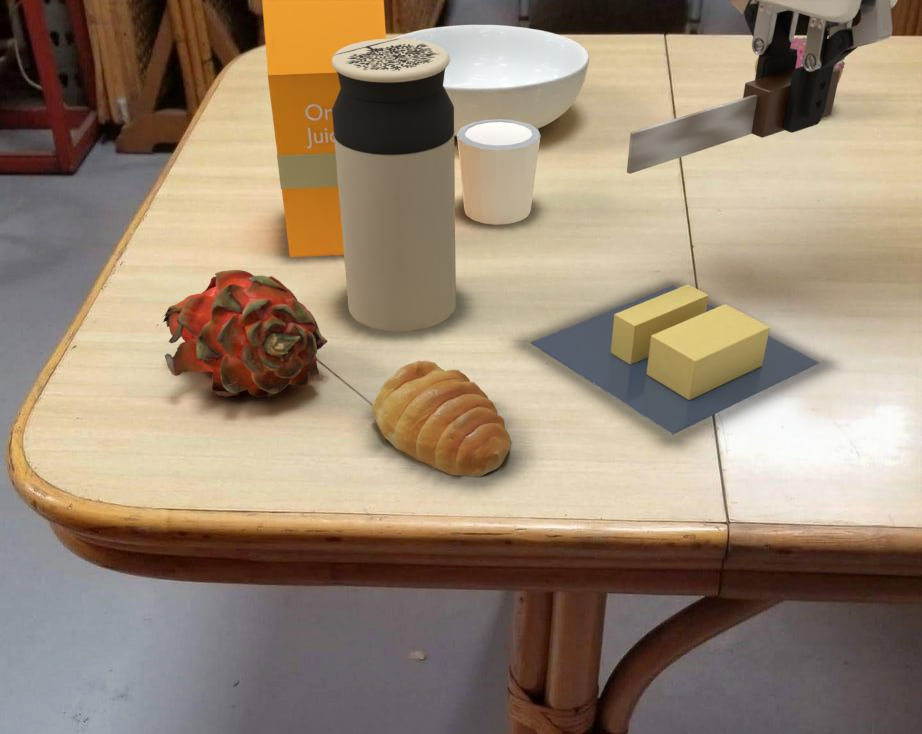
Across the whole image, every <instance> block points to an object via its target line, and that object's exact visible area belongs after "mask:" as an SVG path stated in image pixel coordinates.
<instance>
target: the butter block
mask: <svg viewBox="0 0 922 734" xmlns="http://www.w3.org/2000/svg"><path fill="white" fill-rule="evenodd" d="M770 330H771V328H770V326H769V325H767V324H765V323H763V322H761V321H759V320H757V319H755V318H753V317H751V316H749V315H747V314H746V313H743V312H741V311H740V310H738V309H736V308H734V307H732V306H730V305H728V304H726V303H723V304H722V305H720V306H717V307H715V309H712V310H710V311H708V312H705V313H703V314H700V315H698V316H696V317H693V318H691V319H689V320H686V321H684V322H682V323H679V324H677V325H675V326H672V327H670V328H668V329H665V330H663V331H661V332H658V333H656V334H654V335H652V336H651V342H650V350H649V358H648V366H647V375H648V376H650V377H652V378H653V379H655V380H657V381H658V382H660V383H662V384H663V385H665V386H666V387H668V388H670V389H671V390H673V391H675V392H676V393H678V394H680V395H681V396H683V397H684V398H686V399H688V400H691V399H693V398H695V397H697V396H700V395H702V394H704V393H706V392H708V391H710V390H712V389H714V388H716V387H719V386H721V385H723V384H725V383H727V382H729V381H731V380H733V379H735V378H737V377H740V376H742V375H744V374H746V373H748V372H750V371H752V370H754V369H756V368H759V367H761V366H762V363H763V358H764V354H765V349H766V344H767V339H768V336H769V333H770Z"/></svg>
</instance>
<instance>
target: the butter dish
mask: <svg viewBox="0 0 922 734" xmlns="http://www.w3.org/2000/svg"><path fill="white" fill-rule="evenodd" d="M678 288H679V287H677V286H675V285H673V284H671V285H668V286H667V287H663V288H661V289H659V290H657V291H654V292H652V293H649V294H646V295H644V296H641V297H639V298H637V299H634V300H632V301H629V302H627V303H624V304H622V305H619V306H616V307H614V308H612V309H610V310H609V309H608V310H606V311H605V312H602V313H599V314H597V315H594V316H591V317H589V318H587V319H585V320H582V321H580V322H576V323H574V324H572V325H569V326H567V327H565V328H562V329H559V330H557V331H554V332H552V333H549V334H547V335H545V336H542V337H539V338H537V339H534V340H532V341H530V342H529V344H531V345H532V346H534V347H536V348H537V349H539V350H540V351H542V352H544V353H545V354H546V355H548V356H550V357H551V358H553V359H554V360H556V361H557V362H559V363H560V364H562V365H564V366H565V367H567V368H568V369H569V370H571V371H572V372H575V373H576V374H577V375H579V376H581V377H582V378H584V379H585V380H587V381H588V382H590V383H591V384H593V385H594V386H596V387H597V388H599V389H601V390H602V391H604V392H605V393H607V394H609V395H610V396H611V397H613V398H615V399H617V400H618V401H619V402H621V403H623V404H624V405H625V406H627V407H629V408H630V409H631V410H633V411H635V412H637V413H638V414H639V415H641V416H643V417H644V418H646V419H647V420H649V421H650V422H652V423H654V424H655V425H657V426H658V427H659V428H661V429H663V430H664V431H666V432H667V433H669V434H671V435H672V436H673V435H675V434H677V433H679V432H681V431H683V430H685V429H687V428H689V427H691V426H693V425H696V424H698V423H700V422H702V421H704V420H706V419H708V418H710V417H712V416H714V415H716V414H718V413H720V412H722V411H724V410H726V409H728V408H730V407H732V406H735V405H736V404H739V403H741V402H743V401H744V400H747V399H749V398H750V397H751V398H752V397H753V396H755V395H757V394H759V393H761V392H763V391H765V390H767V389H770V388H771V387H773V386H775V385H777V384H779V383H782V382H783V381H786V380H787V379H790V378H792V377H794V376H796V375H798V374H800V373H802V372H803V371H806V370H808V369H811V368H812V367H814V366H816V365H818V364H820V362H819V361H817V360H816V359H814V358H812V357H810V356H808V355H807V354H804V353H802V352H800V351H799V350H797V349H795V348H794V347H791V346H789V345H788V344H785V343H783V342H782V341H780V340H778V339H776V338H774V337H773V336H770V335H768V339H767V344H766V349H765V354H764V358H763V363H762V366H761V367H759V368H756V369H754V370H752V371H750V372H748V373H746V374H744V375H742V376H740V377H737V378H735V379H733V380H731V381H729V382H727V383H725V384H723V385H721V386H719V387H716V388H714V389H712V390H710V391H708V392H706V393H704V394H702V395H700V396H697V397H695V398H693V399H691V400H688V399H686V398H684V397H683V396H681V395H680V394H678V393H676V392H675V391H673V390H671V389H670V388H668V387H666V386H665V385H663V384H662V383H660V382H658V381H657V380H655V379H653V378H652V377H650V376H648V375H647V366H648V358H649V357H647V358H645V359H643V360H640V361H638V362H636V363H633V364H631V365H630V364H628V363H627V362H625V361H623V360H622V359H620V358H618V357H617V356H615V355H614V354H612V353H611V345H612V334H613V324H614V314H616V313H619V312H621V311H624V310H626V309H628V308H631V307H633V306H636V305H638V304H641V303H643V302H646V301H648V300H651V299H653V298H656V297H658V296H660V295H663V294H665V293H668V292H670V291H673V290H675V289H678ZM715 308H716V307H715V306H713V305H711V304H709V303H707V309H706V312H708V311H710V310H712V309H715Z"/></svg>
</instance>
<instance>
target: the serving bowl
mask: <svg viewBox="0 0 922 734" xmlns="http://www.w3.org/2000/svg"><path fill="white" fill-rule="evenodd" d="M393 39H412V40H419V41H425V42H429V43H432V44H435V45H438V46H440V47H442V48H443V49H444V50H446V51H447V53H448V54H449V57H450V61H449V64H448V66H447V67H446V69H445V74H444V83H443V86H444V88H445V90H446V92H447V94H448V96H449V98H450V100H451V102H452V104H453V106H454V137H457V133H458V131H459V130H460V129H461V128H462V127H464V126H466V125H468V124H470V123H474V122H478V121H483V120H497V119H503V120H514V121H519V122H523V123H527V124H530V125H531V126H533V127H535V128H536V129H538V130H539V129H540V128H543V127H545V126H547V125H549V124H550V123H552V122H554V121H555V120H557V119H558V118H560V117H561V116H563V115H564V113H566V112H567V111H568V110H569V109H570V108H571V106H572V105H573V104H574V102H575V101H576V100H577V98H578V96H579V94H580V92H581V91H582V88H583V86H584V83H585V81H586V76H587V72H588V67H589V63H590V56H589V52H588V51H587V49H586V48H585V47H584V46H583V45H582V44H580V43H579V42H577V41H575V40H574V39H571V38H569V37H567V36H563V35H561V34H558V33H554V32H551V31H545V30H542V29H541V30H540V29H534V28H529V27H522V26H512V25H502V24H501V25H499V24H461V25H448V26H438V27H431V28H424V29H419V30H415V31H411V32H408V33H404V34H401V35H398V36H396V37H394V38H393Z"/></svg>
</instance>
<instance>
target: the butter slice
mask: <svg viewBox="0 0 922 734" xmlns="http://www.w3.org/2000/svg"><path fill="white" fill-rule="evenodd" d="M677 288H678V289H675V290H673V291H670V292H668V293H665V294H663V295H660V296H658V297H656V298H653V299H651V300H648V301H646V302H643V303H641V304H638V305H636V306H633V307H631V308H628V309H626V310H624V311H621V312H619V313H616V314H614V324H613V334H612V345H611V353H612V354H614V355H615V356H617V357H618V358H620V359H622V360H623V361H625V362H627V363H628V364H630V365H631V364H633V363H636V362H638V361H640V360H643V359H645V358H647V357H649V350H650V342H651V336H652V335H654V334H656V333H658V332H661V331H663V330H665V329H668V328H670V327H672V326H675V325H677V324H679V323H682V322H684V321H686V320H689V319H691V318H693V317H696V316H698V315H700V314H703V313H705V312H706V309H707V303H708V302H709V296H710V295H709V294H708V293H706V292H703V291H702V290H700V289H698V288H696V287H694V286H693V285H690V284H685V285H683V286H680V287H677ZM708 304H709V303H708Z"/></svg>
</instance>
